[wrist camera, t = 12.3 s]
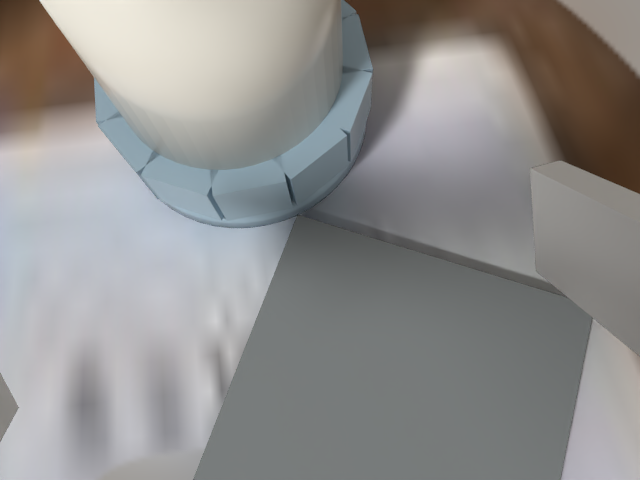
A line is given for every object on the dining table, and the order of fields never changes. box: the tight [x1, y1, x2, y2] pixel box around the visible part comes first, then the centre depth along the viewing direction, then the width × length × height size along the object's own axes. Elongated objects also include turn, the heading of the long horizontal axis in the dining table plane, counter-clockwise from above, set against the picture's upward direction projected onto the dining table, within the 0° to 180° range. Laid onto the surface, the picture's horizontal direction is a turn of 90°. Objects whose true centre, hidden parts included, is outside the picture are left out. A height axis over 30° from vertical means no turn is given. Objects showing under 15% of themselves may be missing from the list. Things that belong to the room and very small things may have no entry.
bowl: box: [94, 0, 373, 228], centre depth 24 cm, size 11×11×4 cm
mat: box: [193, 215, 592, 480], centre depth 20 cm, size 12×12×1 cm
